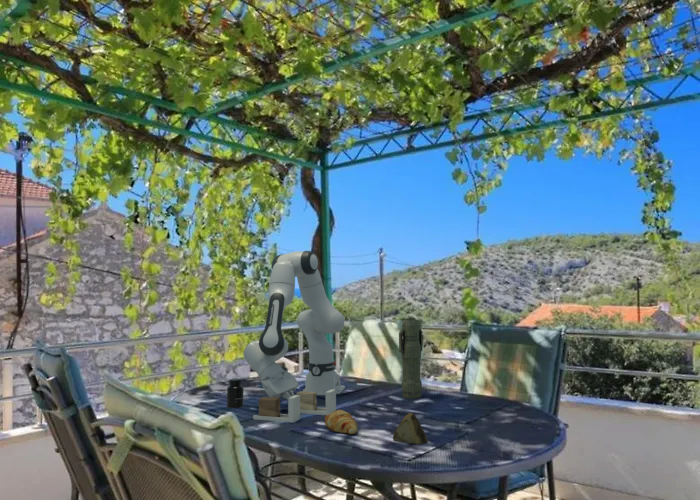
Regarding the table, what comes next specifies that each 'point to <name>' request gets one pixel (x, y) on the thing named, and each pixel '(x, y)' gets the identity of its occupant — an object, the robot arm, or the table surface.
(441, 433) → the table surface
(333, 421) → the croissant
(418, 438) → the rock
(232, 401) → the supplement bottle
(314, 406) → the tan wooden block
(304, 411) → the white l-shaped piece
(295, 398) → the grey l-shaped bracket
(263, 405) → the brown wooden block
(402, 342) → the thermos
